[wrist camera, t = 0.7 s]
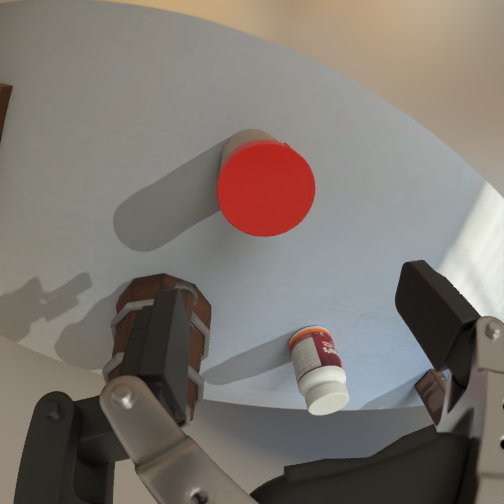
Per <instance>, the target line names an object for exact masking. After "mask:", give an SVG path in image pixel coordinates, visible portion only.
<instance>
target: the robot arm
mask: <svg viewBox="0 0 504 504" xmlns="http://www.w3.org/2000/svg"><path fill="white" fill-rule="evenodd" d="M395 304H396V308H397V311H398V312H399V314H400V315H401V317H402V318H403V320H404V321H405V323H406V324H407V326H408V327H409V329H410V330H411V332H412V333H413V335H414V337H415V338H416V340H417V341H418V343H419V344H420V346H421V347H422V349H423V351H424V352H425V354H426V355H427V357H428V359H429V360H430V362H431V363H432V365H433V367H434V368H435V370H436V372H437V373H438V372H441V371H443V370H446V369H449V370H450V371H451V372H450V374H449V376H448V378H447V385H446V392H445V399H444V405H443V410H442V416H441V419H440V422H439V425H438V427H437V428H435V426H434V424H432V425H430V426H428V427H425V428H423V429H420V430H418V431H415V432H413V433H410V434H408V435H405V436H402V437H401V438H400V439H398V440H397V441H395V442H393V443H392V444H390V445H389V446H387V447H386V448H384V449H382V450H381V451H379V452H378V453H376V454H375V455H372V456H371V457H367V458H346V459H322V460H318V461H313V462H308V463H302V464H296V465H290V466H285V467H284V474H283V475H281V476H279V477H276V478H274V479H272V480H270V481H268V482H266V483H264V484H263V485H262V486H259V487H258V488H257V489H255V490H254V491H253V492H251V493H250V494H249V495H248V494H247V493H246V492H245V491H244V490H243V489H242V488H241V487H240V486H239V485H238V484H236V483H235V482H234V481H233V480H232V479H231V478H230V477H229V476H228V475H227V474H226V473H225V472H224V471H223V470H222V469H221V468H220V467H219V466H218V465H217V464H216V463H215V462H214V461H213V460H212V459H211V458H210V457H209V456H208V455H207V454H206V453H205V452H204V450H203V449H202V448H201V447H200V446H199V445H198V444H197V443H196V442H195V441H194V440H193V439H192V438H191V437H190V436H187V435H186V434H185V433H184V432H183V431H182V429H181V428H180V427H179V426H178V425H177V424H176V422H175V419H185V416H186V397H187V381H188V366H189V353H190V340H191V334H190V325H189V321H188V317H187V313H186V309H185V305H184V301H183V297H182V293H181V290H180V289H179V288H174V289H162V290H157V292H156V295H155V299H154V302H153V305H149V306H144V307H143V308H142V309H141V310H140V311H139V312H138V314H137V315H136V316H135V318H134V322H133V325H132V330H131V332H130V335H129V340H128V342H127V345H126V349H125V352H124V356H123V359H122V363H121V367H120V371H119V374H118V377H117V378H115V379H113V380H111V381H110V382H108V383H107V384H106V385H105V386H104V388H103V389H102V391H101V394H100V395H98V396H95V397H91V398H87V399H82V400H78V401H73V400H72V399H71V398H70V397H69V396H68V395H67V394H65V393H63V392H59V391H54V392H50V393H48V394H46V395H44V396H43V397H42V398H41V399H40V400H39V401H38V402H37V404H36V406H35V409H34V412H33V415H32V419H31V422H30V426H29V429H28V433H27V437H26V441H25V445H24V449H23V453H22V458H21V462H20V467H19V472H18V478H17V484H16V489H15V496H14V504H113V486H114V469H115V462H116V461H121V460H125V459H130V458H131V460H132V461H133V463H134V464H135V471H136V473H137V475H138V476H139V478H140V479H141V481H142V482H143V484H144V485H145V487H146V488H147V489H148V491H149V492H150V493H151V495H152V496H153V497H154V499H155V500H156V501H157V503H158V504H504V323H503V322H502V321H500V320H499V319H497V318H495V317H492V316H483V317H481V316H480V315H479V313H478V312H477V311H476V310H475V309H474V308H473V307H472V305H471V304H470V303H469V302H468V301H467V300H466V299H465V298H464V297H463V295H462V294H460V292H459V291H458V290H457V289H456V288H455V287H453V285H452V284H451V283H450V282H449V280H448V279H447V278H446V277H444V276H442V275H441V274H439V273H437V272H436V271H434V270H433V269H432V268H431V267H430V266H429V265H428V264H427V263H426V262H425V261H424V260H418V261H411V262H406V263H404V264H403V266H402V270H401V275H400V279H399V283H398V287H397V291H396V295H395Z"/></svg>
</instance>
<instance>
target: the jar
mask: <svg viewBox="0 0 504 504" xmlns="http://www.w3.org/2000/svg"><path fill="white" fill-rule="evenodd" d="M260 139H268V140H275V141H277V140H276V139H275V138H274V137H272V136H271V135H270V134H268V133H266V132H263V131H260V130H245V131H241V132H239V133H237V134H235V135H234V136H233V137H231V138H230V139H229V140H228V141H227V143H226V144H225V146H224V148H223V150H222V154H221V166H222V164H223V162H224V161H225V159H226V158H227V157H228V156H229V154H230V153H231V152H232V151H234V150H235V149H236V148H238V147H239V146H241V145H243V144H245V143H247V142H250V141H254V140H260Z"/></svg>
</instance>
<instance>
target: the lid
mask: <svg viewBox="0 0 504 504" xmlns="http://www.w3.org/2000/svg"><path fill="white" fill-rule="evenodd" d="M314 196H315V180H314V176H313V173H312V170H311V168H310V166H309V165H308V163H307V162H306V160H305V159H304V158H303V157H302V156H301V155H300V154H298V153H297V152H296V151H295V150H293V149H292V148H291V147H290V146H289V145H288V144H286V143H281V142H279V141H275V140H268V139H260V140H254V141H250V142H247V143H245V144H243V145H241V146H239V147H238V148H236V149H235V150H234V151H232V152H231V153H230V154H229V156H228V157H227V158H226V159H225V161H224V162H223V164H222V166H221V169H220V171H219V175H218V182H217V198H218V203H219V206H220V209H221V211H222V213H223V215H224V216H225V217H226V219H227V220H228V221H229V222H230V223H231V224H232V225H233V226H234V227H235V228H237V229H239V230H240V231H242V232H244V233H247V234H250V235H254V236H262V237H266V236H275V235H279V234H282V233H284V232H287V231H289V230H290V229H292V228H294V227H295V226H296V225H298V224H299V223H300V222H301V221H302V220H303V219H304V218H305V216H306V215H307V213H308V212H309V210H310V208H311V206H312V203H313V201H314Z"/></svg>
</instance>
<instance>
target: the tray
mask: <svg viewBox="0 0 504 504" xmlns="http://www.w3.org/2000/svg"><path fill="white" fill-rule="evenodd" d="M12 87H13V86H11V85H6V84H1V83H0V141H1V135H2V130H3V124H4V120H5V115H6V110H7V106H8V102H9V98H10V94H11V91H12Z"/></svg>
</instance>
